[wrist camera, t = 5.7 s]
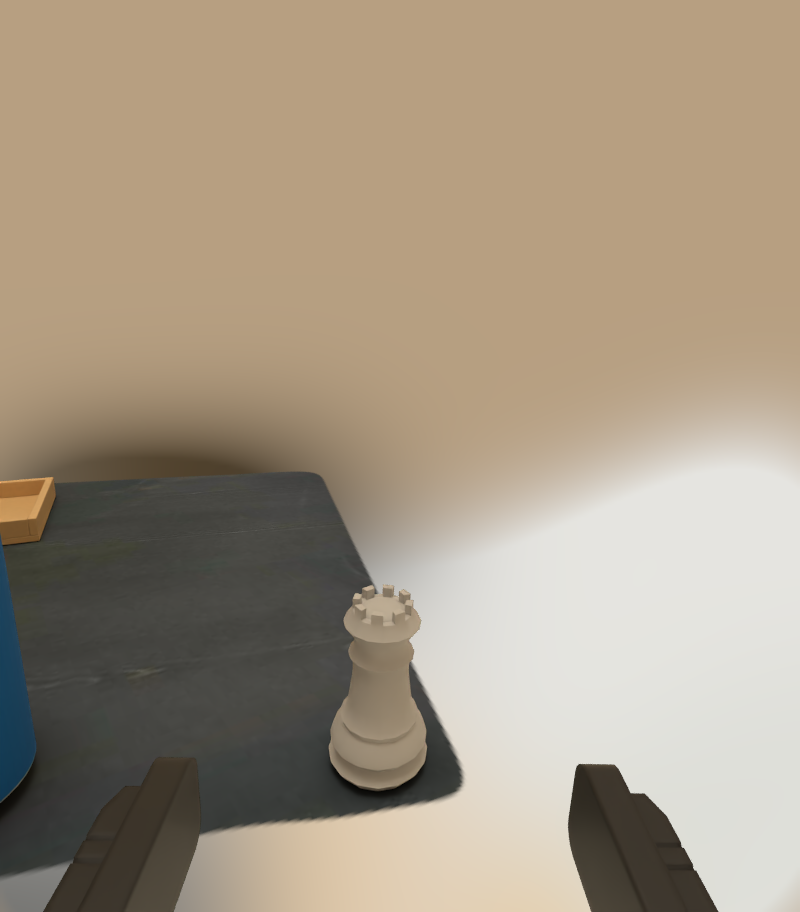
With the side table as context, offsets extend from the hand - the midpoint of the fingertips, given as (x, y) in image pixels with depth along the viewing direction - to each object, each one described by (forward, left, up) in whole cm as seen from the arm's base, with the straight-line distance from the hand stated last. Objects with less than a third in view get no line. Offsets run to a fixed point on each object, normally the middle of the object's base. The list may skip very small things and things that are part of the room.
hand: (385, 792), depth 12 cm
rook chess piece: (+5, +10, -10) cm, 15 cm away
